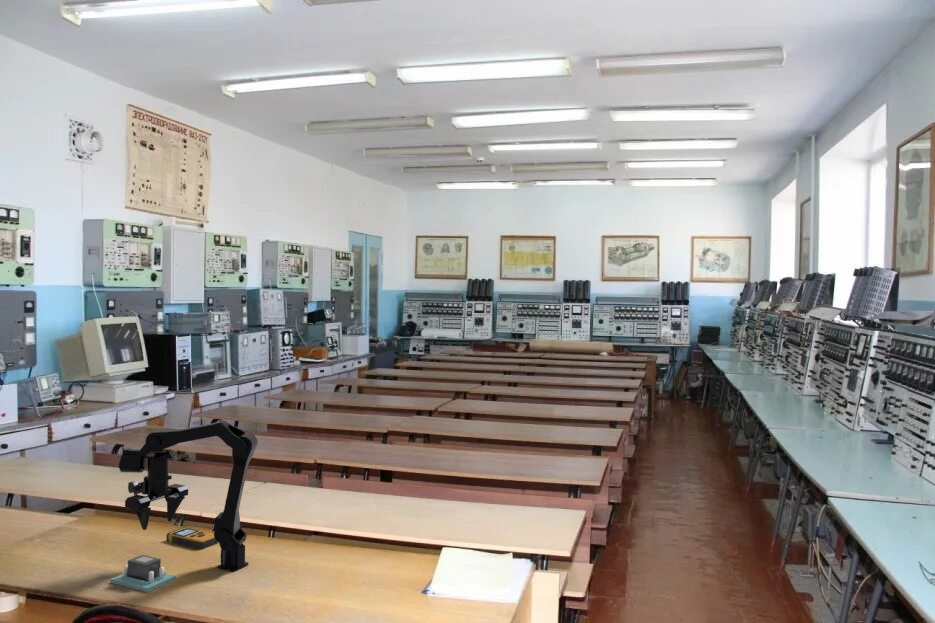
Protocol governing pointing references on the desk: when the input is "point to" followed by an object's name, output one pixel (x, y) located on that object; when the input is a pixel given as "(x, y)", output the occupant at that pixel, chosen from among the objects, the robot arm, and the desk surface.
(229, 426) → the robot arm
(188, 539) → the electronic device
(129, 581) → the teal fixture plate
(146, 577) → the block
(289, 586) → the desk surface
